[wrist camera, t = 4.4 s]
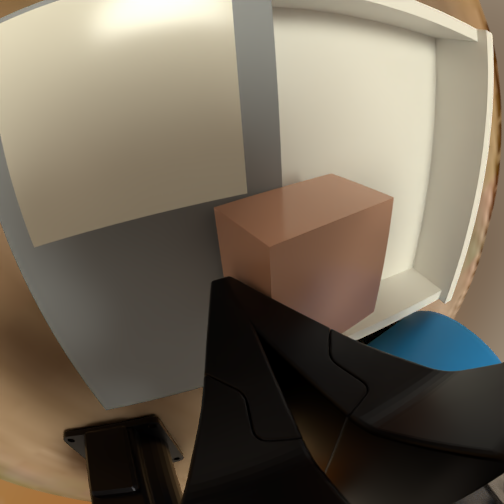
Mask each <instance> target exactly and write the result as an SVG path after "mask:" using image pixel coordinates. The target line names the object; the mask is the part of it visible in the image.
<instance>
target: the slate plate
mask: <svg viewBox="0 0 504 504" xmlns="http://www.w3.org/2000/svg"><path fill="white" fill-rule="evenodd" d="M55 1H58V0H44V1H41V2H39V3H36V4H33V5H31V6H28V7H26V8H23V9H21V10H18V11H16V12H14V13H11V14H9V15H7V16H5V17H3V18H0V23H2V22H4V21H7V20H9V19H11V18H13V17H16V16H18V15H20V14H23V13H25V12H28V11H30V10H33V9H36V8H38V7H41V6H44V5H47V4H49V3H52V2H55ZM232 9H233V22H234V34H235V46H236V59H237V71H238V83H239V96H240V108H241V120H242V133H243V145H244V157H245V170H246V182H247V194H242V195H237V196H232V197H227V198H223V199H218V200H213V201H209V202H204V203H200V204H195V205H191V206H187V207H182V208H178V209H174V210H170V211H165V212H161V213H157V214H153V215H149V216H145V217H141V218H137V219H133V220H129V221H125V222H122V223H118V224H114V225H110V226H107V227H103V228H99V229H96V230H92V231H88V232H85V233H81V234H78V235H74V236H71V237H67V238H64V239H61V240H57V241H54V242H51V243H47V244H44V245H41V246H37V247H34V246H33V243H32V241H31V238H30V235H29V233H28V230H27V227H26V225H25V222H24V219H23V216H22V213H21V210H20V207H19V204H18V201H17V198H16V194H15V191H14V188H13V184H12V181H11V177H10V174H9V170H8V166H7V162H6V158H5V154H4V150H3V145H2V141H1V136H0V222H1V225H2V228H3V231H4V233H5V236H6V238H7V241H8V243H9V246H10V248H11V251H12V253H13V255H14V258H15V260H16V262H17V264H18V267H19V269H20V271H21V273H22V275H23V277H24V280H25V282H26V284H27V286H28V288H29V290H30V292H31V294H32V296H33V298H34V300H35V302H36V303H37V305H38V307H39V309H40V311H41V313H42V315H43V316H44V318H45V320H46V322H47V324H48V325H49V327H50V329H51V330H52V332H53V334H54V336H55V337H56V339H57V340H58V342H59V344H60V345H61V347H62V349H63V350H64V352H65V353H66V355H67V356H68V358H69V359H70V361H71V363H72V364H73V366H74V367H75V368H76V370H77V371H78V373H79V374H80V376H81V377H82V379H83V380H84V381H85V383H86V384H87V386H88V387H89V388H90V390H91V391H92V392H93V394H94V395H95V396H96V398H97V399H98V400H99V402H100V403H101V404H102V406H103V407H104V408H105V409H106V410H109V409H114V408H119V407H124V406H129V405H133V404H138V403H142V402H146V401H151V400H155V399H159V398H163V397H167V396H171V395H175V394H178V393H182V392H186V391H190V390H193V389H197V388H200V387H203V383H204V370H205V354H206V339H207V325H208V312H209V299H210V287H211V282H212V281H213V280H216V279H220V278H223V277H224V275H223V269H222V262H221V255H220V248H219V241H218V234H217V227H216V220H215V213H214V207H217V206H220V205H223V204H226V203H230V202H233V201H236V200H239V199H243V198H246V197H249V196H253V195H256V194H259V193H263V192H266V191H270V190H273V189H277V188H280V187H282V166H281V142H280V121H279V102H278V85H277V69H276V54H275V40H274V27H273V14H272V2H271V0H232Z"/></svg>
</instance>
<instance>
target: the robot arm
mask: <svg viewBox="0 0 504 504" xmlns="http://www.w3.org/2000/svg"><path fill="white" fill-rule="evenodd" d="M64 441H65V442H66V443H67V444H68V445H69V446H71V447H72V448H73V449H74V450H75V451H76V452H78V453H79V454H80V455H81V456H82V457H84V458H85V459H86V465H87V473H88V481H89V488H90V495H91V501H92V504H504V363H499V364H494V365H489V366H484V367H478V368H473V369H467V370H460V371H443V370H437V369H433V368H430V367H426V366H423V365H420V364H417V363H415V362H412V361H409V360H406V359H403V358H400V357H397V356H394V355H392V354H389V353H386V352H383V351H381V350H378V349H376V348H373V347H370V346H368V345H365V344H363V343H361V342H358V341H356V340H354V339H352V338H350V337H348V336H345V335H343V334H341V333H339V332H337V331H335V330H333V329H331V330H330V328H329V327H327V326H325V325H323V324H321V323H319V322H317V321H315V320H313V319H311V318H309V317H307V316H305V315H303V314H301V313H300V312H298V311H296V310H294V309H292V308H290V307H288V306H286V305H284V304H282V303H280V302H278V301H276V300H274V299H272V298H271V297H269V296H267V295H265V294H263V293H261V292H259V291H257V290H255V289H253V288H252V287H250V286H248V285H246V284H244V283H242V282H240V281H238V280H237V279H235V278H233V277H231V276H227V277H223V278H220V279H216V280H213V281H212V282H211V287H210V299H209V312H208V325H207V339H206V354H205V370H204V383H203V396H202V406H201V413H200V419H199V425H198V431H197V435H196V440H195V445H194V449H193V454H192V459H191V464H190V468H189V473H188V478H187V482H186V486H185V490H184V493H183V494H182V491H181V488H180V484H179V481H178V478H177V475H176V471H175V468H174V464H173V462H177V461H180V460H182V459H183V454H182V452H181V451H180V449H179V448H178V446H177V445H176V443H175V442H174V440H173V439H172V438H171V436H170V435H169V433H168V432H167V430H166V429H165V427H164V426H163V424H162V422H161V421H160V419H159V418H158V417H154V416H150V417H145V418H140V419H136V420H131V421H126V422H121V423H116V424H111V425H105V426H99V427H93V428H87V429H81V430H74V431H67V432H64Z"/></svg>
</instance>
